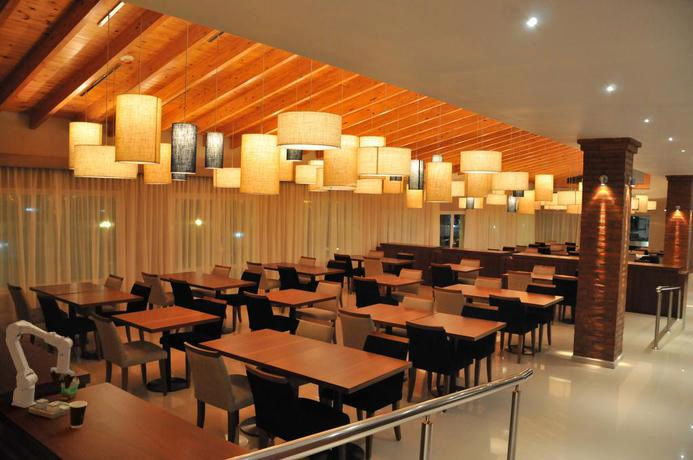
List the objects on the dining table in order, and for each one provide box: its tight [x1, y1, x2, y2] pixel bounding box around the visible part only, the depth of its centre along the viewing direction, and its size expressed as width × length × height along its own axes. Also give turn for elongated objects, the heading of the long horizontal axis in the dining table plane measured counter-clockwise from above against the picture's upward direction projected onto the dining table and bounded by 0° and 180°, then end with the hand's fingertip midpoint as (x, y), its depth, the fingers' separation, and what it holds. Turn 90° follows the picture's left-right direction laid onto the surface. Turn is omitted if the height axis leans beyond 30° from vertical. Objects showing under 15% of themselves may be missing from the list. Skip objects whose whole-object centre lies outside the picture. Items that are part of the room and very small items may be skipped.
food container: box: [60, 376, 80, 401], centre depth 288 cm, size 12×6×10 cm, turn 179°
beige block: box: [34, 398, 49, 410], centre depth 266 cm, size 4×4×6 cm
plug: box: [47, 401, 60, 413], centre depth 263 cm, size 4×4×6 cm
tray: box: [54, 400, 70, 411], centre depth 273 cm, size 12×10×1 cm
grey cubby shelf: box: [28, 405, 67, 420], centre depth 265 cm, size 16×8×3 cm, turn 71°
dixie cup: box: [69, 400, 88, 429], centre depth 253 cm, size 8×8×11 cm
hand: (61, 387), depth 275 cm, fingers open, 7 cm apart
